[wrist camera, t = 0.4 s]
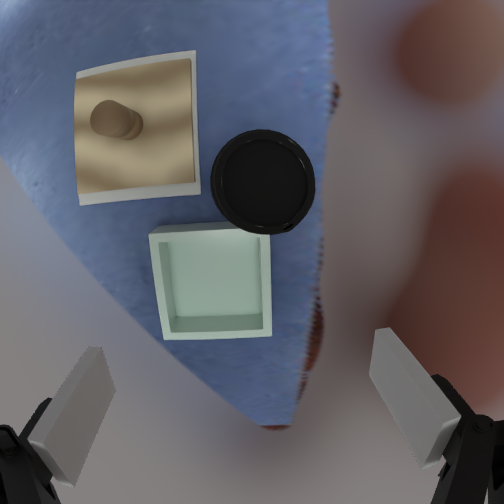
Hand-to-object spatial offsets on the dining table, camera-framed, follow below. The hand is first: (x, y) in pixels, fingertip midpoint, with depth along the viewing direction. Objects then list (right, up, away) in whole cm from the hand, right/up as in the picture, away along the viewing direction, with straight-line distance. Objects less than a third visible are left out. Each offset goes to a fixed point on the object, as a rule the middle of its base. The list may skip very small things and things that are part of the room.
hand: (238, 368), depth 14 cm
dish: (-4, +3, +26) cm, 26 cm away
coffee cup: (+1, +14, +23) cm, 27 cm away
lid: (-14, +20, +20) cm, 32 cm away
